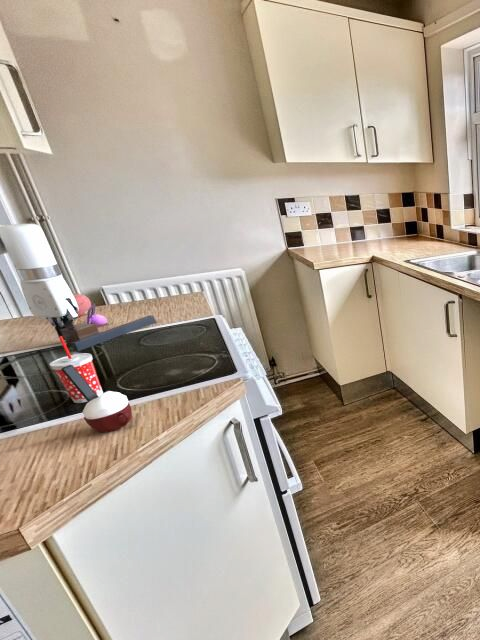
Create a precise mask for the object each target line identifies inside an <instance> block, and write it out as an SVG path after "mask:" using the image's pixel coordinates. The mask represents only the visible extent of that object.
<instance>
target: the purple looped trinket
mask: <svg viewBox="0 0 480 640" xmlns="http://www.w3.org/2000/svg"><path fill="white" fill-rule="evenodd" d="M85 315H86V316H87V317H86V320H85V324H96V326H105V324H107V325H111V323H110V322H108V319H107V318H106V317H105V316H103V315H101V314H99V313H96V302H95V303H94V302H93V303H92V304H91V307H90V308H89V310H88V311H85Z"/></svg>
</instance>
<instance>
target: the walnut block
mask: <svg viewBox="0 0 480 640" xmlns="http://www.w3.org/2000/svg"><path fill="white" fill-rule="evenodd" d="M61 332H62V334H63V337H64V339H65V340H64V342H65V344H66V346H67V347H72V346H71V344H70V343H72V342H75V341H77V340H80V339H83V338H86V337H89V336H92V335H95V334H98V333H100V331H99V329H98V325H96V324H91V323H89V324H86V323H81V322H80V323H78V324H73V326H71V327H68V328H64V329H61Z"/></svg>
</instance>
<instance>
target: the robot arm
mask: <svg viewBox="0 0 480 640" xmlns="http://www.w3.org/2000/svg"><path fill="white" fill-rule="evenodd" d="M4 254H7V255H8V256H9V258H10V260H11V263H12V265H13V267H14V269H15V271H16V273H17V275H18V278H19V279H20V280H19V281H20V288H21V292H22V294H23V297H24V299H25V302H26V305H27V307H28V309H29V311H30V314H31V315H33V316H34V317H40V318H42V319H45V320H48V321H49V324H50V325H51V326H52V327H53V328H54V329H55V332H56V333H57V337H59V336H62V337H63V334H62V332H61V329H64V328H68V327H71V326H74V320H76V319H79V316H78V315H77V312H78V311H79V308H78V305H77V302H76V300H75V298H74V296H73V294H74V293H73V292H72V290H71V288H70V287H69V284H68V283H67V281H66V279H65V278H64V277H63V274H62V272H61V269H60V267H59V265H58V262H57V260H56V257H55V256H54V253H53V250H52V249H51V246H50V243H49V241H48V239H47V236H46V235H45V232H44V231H43V229H42V227H41V226H40V225H38V224H35V223H16V224H15V223H13V224H0V255H4ZM63 340H64V341H65V339H64V337H63Z"/></svg>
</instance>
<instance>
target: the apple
mask: <svg viewBox="0 0 480 640" xmlns="http://www.w3.org/2000/svg"><path fill="white" fill-rule="evenodd" d="M72 294H73V296H74V298H75V300H76V302H77V305H78V308H79V311H78V312H77V315H78V317H82V316H85V315H86V314H85V311H88V310H89V308H90V307H91V306H92V302H91V299H90V298H89V297H88V296H86V295H85V294H82V293H72Z"/></svg>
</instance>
